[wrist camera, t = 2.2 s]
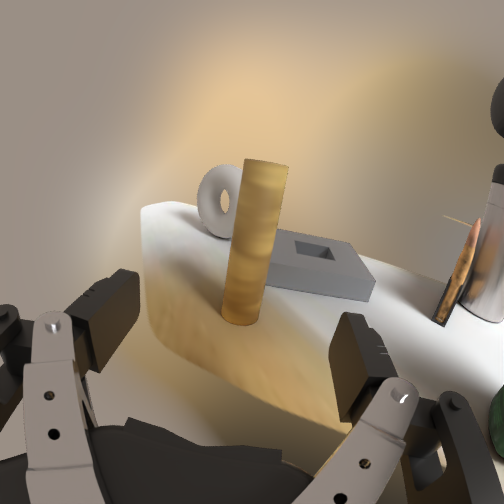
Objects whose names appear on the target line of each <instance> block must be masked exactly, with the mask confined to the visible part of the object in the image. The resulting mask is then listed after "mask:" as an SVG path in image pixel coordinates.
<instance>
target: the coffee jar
mask: <svg viewBox="0 0 504 504" xmlns="http://www.w3.org/2000/svg"><path fill="white" fill-rule="evenodd" d="M489 431H490V434H491V438H492V441H493V444H494V446H495V449H496V451H497V453H498V454H499V455H500V456H502V457H503V458H504V385H503V386H502V388H501V389H500V390H499V391H498V393H497V394H496V395H495V397H494V398H493V400H492V403H491V407H490V412H489Z"/></svg>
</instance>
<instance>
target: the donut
mask: <svg viewBox="0 0 504 504" xmlns="http://www.w3.org/2000/svg"><path fill="white" fill-rule="evenodd" d="M242 172H243V170H242V169H240V168H237V167H236V166H233V165H219V166H217V167H214V168H212V169H211V170H210V171H209V172H208V173H207V174H206V175H205V176H204V178H203V180H202V182H201V183H200V185H199V190H198V194H197V207H198V213H199V216H200V218H201V221H202V223H203V224H204V225H205V227H206V228H207V230H208V231H210V232H211V233H212V234H214V235H215V236H218V237H222V238H231V237H232V235H233V228H234V222H235V215H236V209H237V203H238V196H239V190H240V184H241V178H242ZM224 189H225V190H226V191H227V192H228V195H229V199H230V203H229V208H228V211H227V212H226V213H224V211H223V210H222V208H221V204H220V197H221V193H222V192H223V190H224Z"/></svg>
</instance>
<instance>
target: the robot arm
mask: <svg viewBox="0 0 504 504" xmlns="http://www.w3.org/2000/svg"><path fill="white" fill-rule="evenodd" d="M491 120H492V124H493V126H494V129H495V130H496V131H497V133H498V134H499V135H500V136H502V137H503V138H504V78H503V79H502V80H501V82H500V83H499V84H498V86H497V88H496V90H495V92H494V95H493V98H492V103H491ZM139 284H140V280H139V275H138V273H137V272H133V271H129V270H125V269H119V270H118V271H117V272H115V273H114V274H113V275H112V276H111V277H110V278H105V279H102V280H100V281H98V282H96V283H94V284H93V285H92V286H91V287H90V288H89V290H87V291H85V293H83V296H82V295H81V296H80V297H79V298H78V299H77V300H76V301H74V302H73V303H72V304H71V305H70V306H69V307H68V308H67V309H66V310H65V311H64V312H60V311H50V312H46V313H44V314H42V315H40V316H39V317H38V318H37V319H36V320H35V321H30V320H23V319H20V316H19V313H18V310H17V308H16V307H15V306H13V305H9V304H4V305H0V355H1V357H2V359H3V362H4V364H3V365H2V366H1V367H0V432H1V430H2V429H3V427H4V425H5V424H6V422H7V421H8V419H9V418H10V416H11V414H12V413H13V412H14V410H15V408H16V407H17V405H18V404H19V402H20V401H21V400H22V398H23V410H24V428H25V439H26V448H27V453H24V454H21V455H18V456H14V457H11V458H8V459H5V460H1V461H0V504H375V503H376V502H377V500H378V498H379V497H380V495H381V493H382V492H383V490H384V488H385V486H386V485H387V483H388V481H389V479H390V477H391V475H392V473H393V471H394V469H395V468H396V466H397V463H398V462H399V460H401V466H402V471H403V476H404V482H405V489H406V495H407V502H408V504H504V494H503V491H502V488H501V484H500V481H499V478H498V475H497V472H496V469H495V466H494V463H493V460H492V458H491V455H490V452H489V450H488V447H487V445H486V442H485V440H484V437H483V435H482V432H481V430H480V428H479V425H478V423H477V421H476V419H475V416H474V414H473V412H472V410H471V408H470V406H469V404H468V402H467V400H466V399H465V398H464V397H463V396H461V395H460V394H458V393H456V392H452V391H446V392H444V393H442V394H441V396H440V397H439V398H438V400H437V401H434V400H430V399H425V398H421V397H419V393H418V391H417V389H416V388H415V387H414V386H413V385H412V384H411V383H410V382H408V381H407V380H405V379H402V378H399V377H398V374H397V372H396V370H395V367H394V365H393V363H392V361H391V358H390V356H389V355H388V351H387V349H386V347H384V346H385V345H384V343H383V340H382V338H381V336H380V335H379V334H378V333H377V332H376V331H375V330H374V329H373V328H369V327H368V325H367V322H366V320H365V318H364V316H363V315H362V314H356V313H349V312H344V313H343V314H342V315H341V318H340V320H339V323H338V325H337V328H336V331H335V333H334V336H333V338H332V341H331V343H330V347H329V363H330V368H331V373H332V378H333V383H334V389H335V394H336V400H337V406H338V412H339V417H340V422H349V423H352V429H351V430H350V431H349V433H348V434H347V436H346V437H345V438H344V440H343V441H342V442H341V444H340V445H339V446H338V448H337V449H336V450H335V451H334V453H333V454H332V455H331V456H330V458H329V459H328V460H327V462H326V463H325V464H324V465H323V466H322V468H321V469H320V470H319V471H318V472H317V473H316V474H315V476H314V477H313V476H312V475H311V474H309V473H308V472H306V471H305V470H303V469H302V468H300V467H298V466H296V465H294V464H291V463H289V462H286V461H283V460H281V457H282V450H277V449H267V448H259V447H250V446H244V445H241V446H209V447H208V446H206V447H205V446H199V445H197V444H195V443H192V442H190V441H188V440H186V439H184V438H182V437H179V436H178V435H175V434H174V433H172V432H170V431H168V430H166V429H164V428H161V427H158V426H155V425H151V424H148V423H145V422H141V421H139V420H136V419H133V418H130V417H128V420H127V421H126V423H125V425H124V426H115V425H110V426H100V427H98V425H97V422H96V418H95V415H94V411H93V407H92V402H91V398H90V393H89V389H88V383H87V379H86V375H85V374H86V373H87V371H88V370H92V371H94V372H97V373H101V371H102V369H103V368H104V367H105V365H106V364H107V362H108V361H109V359H110V358H111V356H112V355H113V353H114V352H115V351H116V349H117V348H118V346H119V345H120V343H121V342H122V340H123V339H124V338H125V336H126V335H127V333H128V332H129V331H130V329H131V328H132V326H133V325H134V324H135V322H136V321H137V319H138V316H139V313H140V285H139ZM458 300H459V301H460V303H461V304H462V305H463V306H465V307H466V308H467V309H468V310H470V311H471V312H473V313H474V314H476V315H477V316H479V317H481V318H483V319H485V320H488V321H491V322H497V323H499V322H502V321H503V319H504V164H499V165H497V166H496V167H495V170H494V173H493V179H492V184H491V188H490V193H489V197H488V202H487V206H486V210H485V213H484V217H483V221H482V224H481V228H480V231H479V235H478V239H477V243H476V247H475V252H474V255H473V259H472V262H471V265H470V268H469V271H468V274H467V277H466V280H465V283H464V286H463V288H462V291H461V293H460V295H459V298H458ZM441 446H442V448H443V451H444V454H445V458H446V462H447V466H446V470H445V472H444V474H443V471H442V468H441V464H440V460H439V457H438V453H437V450H438V449H439V448H440V447H441Z"/></svg>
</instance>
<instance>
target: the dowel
mask: <svg viewBox="0 0 504 504" xmlns="http://www.w3.org/2000/svg"><path fill="white" fill-rule="evenodd" d="M288 168H289V167H288V166H285V165H281V164H277V163H272V162H266V161H260V160H253V159H245V160H244V166H243V172H242V178H241V184H240V190H239V196H238V203H237V209H236V215H235V222H234V228H233V235H232V242H231V248H230V255H229V262H228V269H227V276H226V283H225V290H224V297H223V304H222V312H221V314H222V316H223V318H224V319H225V320H226V321H228V322H230V323H232V324H235V325H242V326H245V325H251V324H253V323H255V322H256V321H257V320H258V316H259V311H260V307H261V302H262V297H263V293H264V288H265V283H266V278H267V274H268V269H269V264H270V259H271V254H272V250H273V245H274V240H275V235H276V230H277V225H278V219H279V215H280V210H281V204H282V199H283V194H284V189H285V184H286V179H287V174H288Z"/></svg>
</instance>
